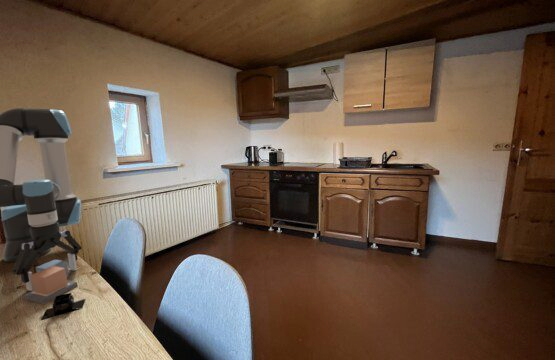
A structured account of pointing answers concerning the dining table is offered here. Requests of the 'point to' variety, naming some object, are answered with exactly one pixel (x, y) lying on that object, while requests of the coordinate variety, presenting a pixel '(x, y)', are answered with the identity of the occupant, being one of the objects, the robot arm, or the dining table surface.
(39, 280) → the terracotta block
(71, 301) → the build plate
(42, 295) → the blueprint board
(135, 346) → the dining table surface
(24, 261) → the robot arm
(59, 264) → the blue block
